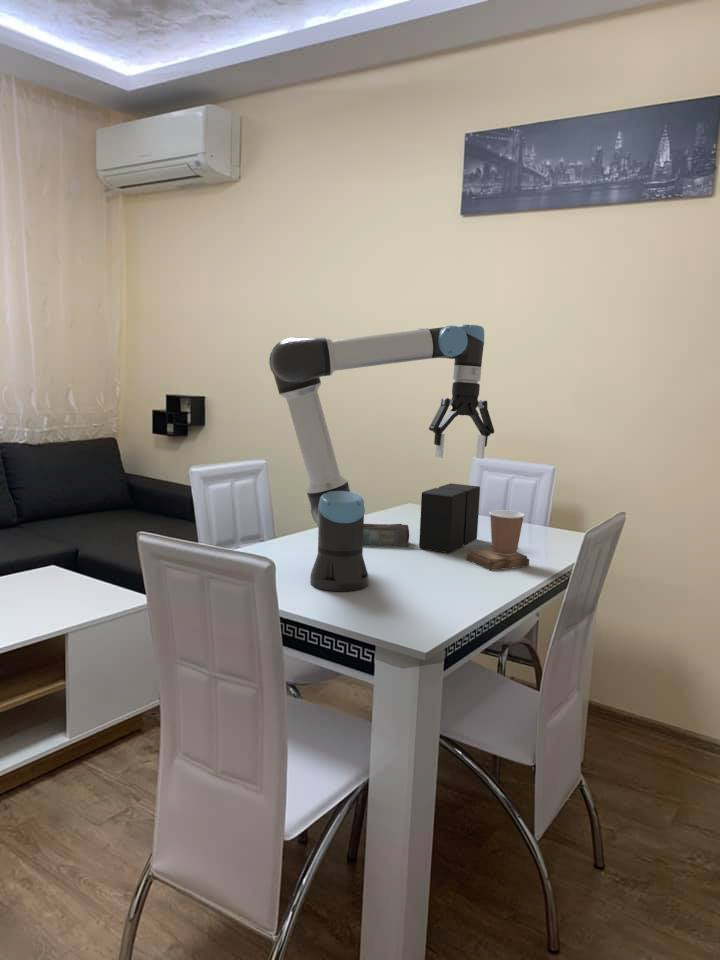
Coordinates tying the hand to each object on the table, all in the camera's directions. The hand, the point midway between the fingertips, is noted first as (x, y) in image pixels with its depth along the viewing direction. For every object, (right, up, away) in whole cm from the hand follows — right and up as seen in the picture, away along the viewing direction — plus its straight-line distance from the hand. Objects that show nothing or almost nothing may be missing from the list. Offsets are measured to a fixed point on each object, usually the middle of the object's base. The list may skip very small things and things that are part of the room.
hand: (459, 457), depth 196 cm
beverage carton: (-22, -27, +32) cm, 47 cm away
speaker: (+1, -28, +34) cm, 44 cm away
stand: (+13, -31, +11) cm, 36 cm away
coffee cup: (+15, -28, +12) cm, 34 cm away
